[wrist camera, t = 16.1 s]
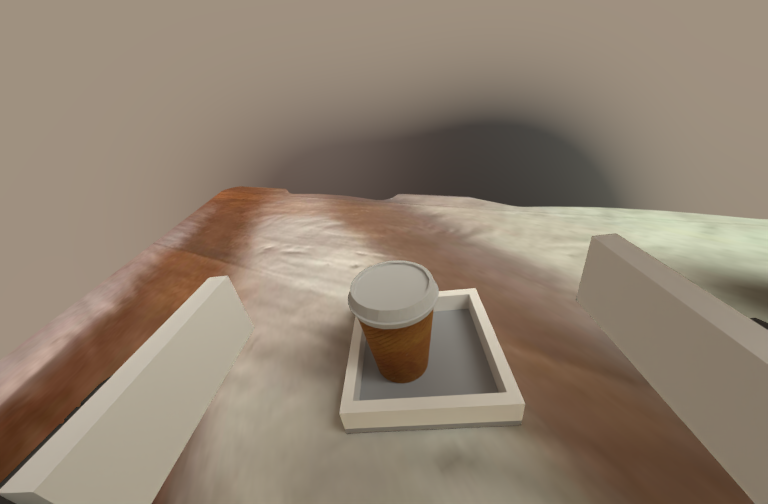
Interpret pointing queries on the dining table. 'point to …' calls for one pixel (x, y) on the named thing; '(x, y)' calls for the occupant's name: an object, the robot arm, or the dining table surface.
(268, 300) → the dining table surface
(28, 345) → the dining table surface
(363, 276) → the disposable coffee cup
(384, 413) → the square well
